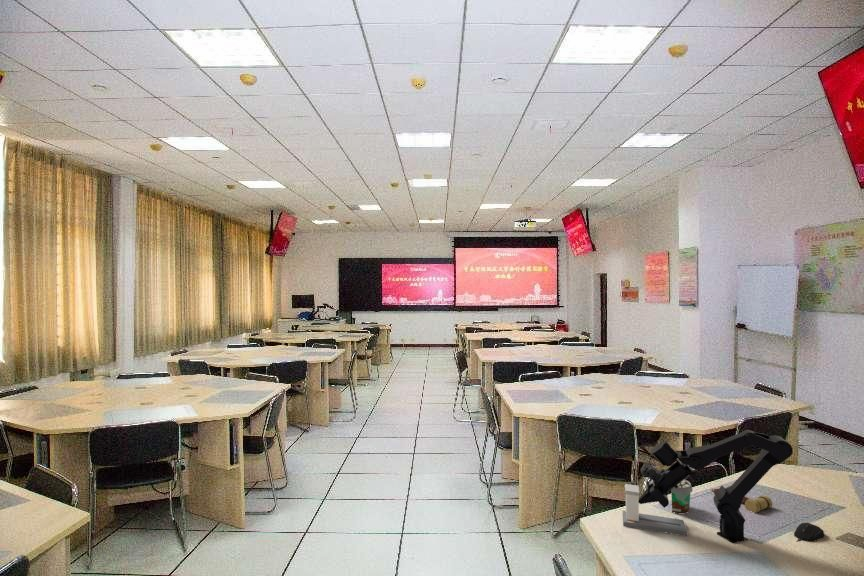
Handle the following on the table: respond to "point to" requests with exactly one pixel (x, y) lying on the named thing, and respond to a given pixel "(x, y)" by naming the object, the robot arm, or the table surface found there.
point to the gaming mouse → (808, 532)
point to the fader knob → (632, 502)
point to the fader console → (657, 524)
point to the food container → (681, 497)
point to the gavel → (755, 503)
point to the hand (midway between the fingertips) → (638, 502)
